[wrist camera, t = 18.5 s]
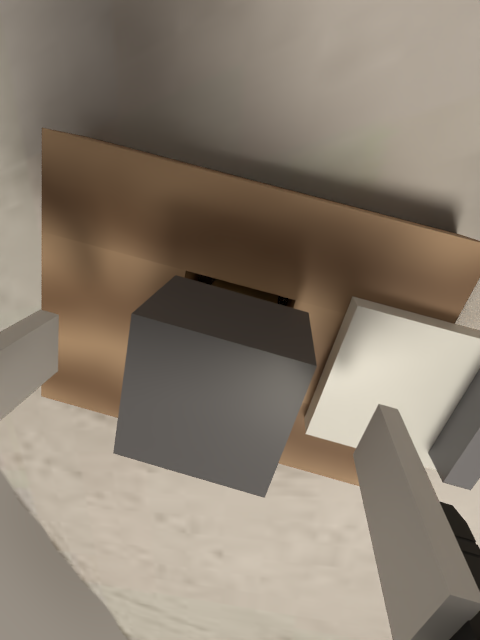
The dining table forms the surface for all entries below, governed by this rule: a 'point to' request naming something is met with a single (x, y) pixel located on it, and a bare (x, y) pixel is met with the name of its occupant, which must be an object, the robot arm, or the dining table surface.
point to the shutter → (404, 386)
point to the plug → (214, 382)
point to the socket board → (219, 264)
